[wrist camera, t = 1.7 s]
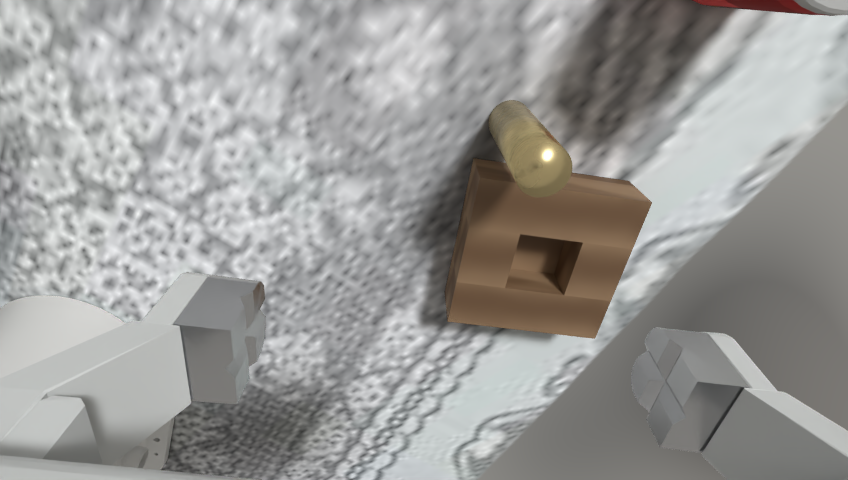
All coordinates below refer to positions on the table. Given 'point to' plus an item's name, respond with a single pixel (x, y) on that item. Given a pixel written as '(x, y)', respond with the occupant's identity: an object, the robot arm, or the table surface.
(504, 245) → the socket block
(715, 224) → the table surface
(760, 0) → the canned food
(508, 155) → the pin
